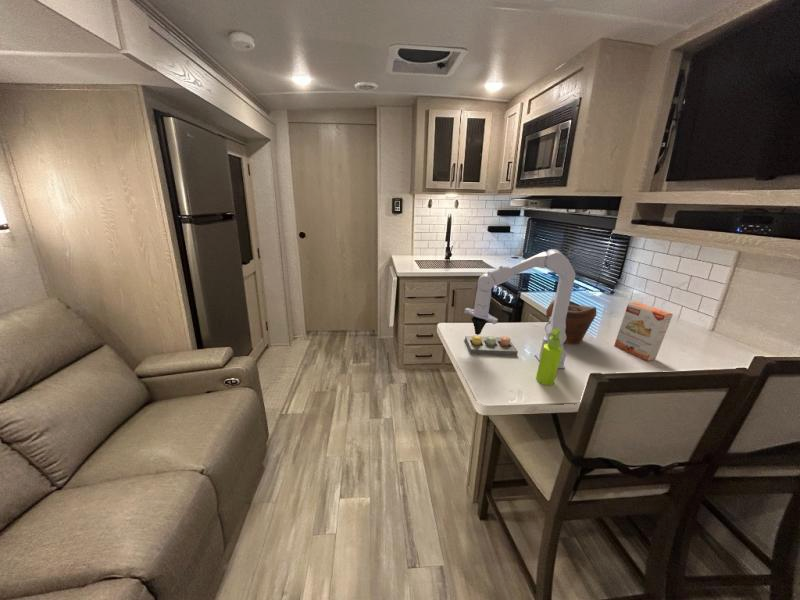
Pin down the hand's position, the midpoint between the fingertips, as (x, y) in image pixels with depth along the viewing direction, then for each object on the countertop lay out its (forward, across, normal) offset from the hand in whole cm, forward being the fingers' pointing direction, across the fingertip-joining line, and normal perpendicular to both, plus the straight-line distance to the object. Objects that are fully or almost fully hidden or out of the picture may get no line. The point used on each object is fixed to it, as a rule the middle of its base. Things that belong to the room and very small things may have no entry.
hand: (477, 333), depth 126 cm
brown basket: (+6, -20, -42) cm, 47 cm away
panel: (+6, -4, -4) cm, 9 cm away
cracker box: (+6, -45, -52) cm, 69 cm away
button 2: (+5, -8, -9) cm, 13 cm away
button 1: (+5, 0, 0) cm, 5 cm away
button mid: (+5, -4, -5) cm, 8 cm away
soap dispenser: (+6, -30, +1) cm, 30 cm away
